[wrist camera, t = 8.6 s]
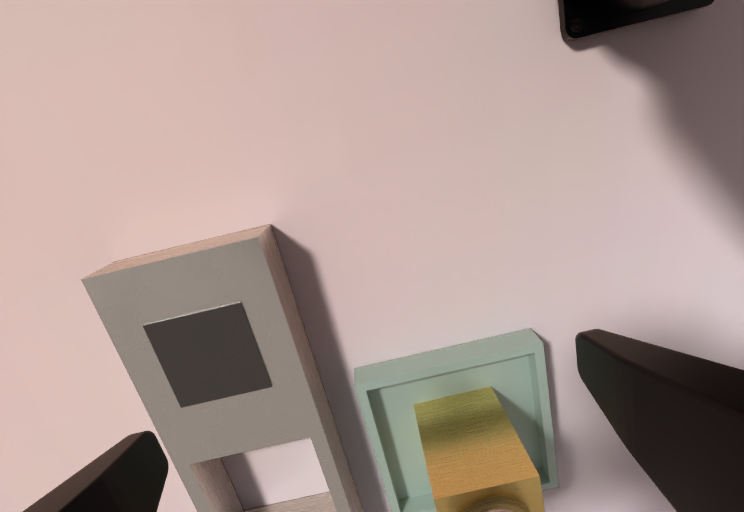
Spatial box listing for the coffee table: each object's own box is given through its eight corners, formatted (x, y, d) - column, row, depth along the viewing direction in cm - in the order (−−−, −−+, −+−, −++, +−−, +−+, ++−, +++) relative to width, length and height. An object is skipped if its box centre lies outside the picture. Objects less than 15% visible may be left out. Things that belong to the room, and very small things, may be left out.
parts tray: (530, 328, 21) (543, 342, 20) (547, 466, 24) (559, 487, 23) (354, 368, 22) (354, 385, 20) (392, 500, 25) (394, 522, 23)
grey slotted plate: (270, 224, 19) (257, 237, 16) (379, 560, 26) (381, 605, 24) (115, 261, 19) (79, 280, 17) (265, 584, 26) (256, 631, 24)
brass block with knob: (491, 386, 22) (553, 502, 15) (501, 448, 23) (564, 580, 16) (413, 404, 22) (439, 527, 15) (428, 464, 23) (459, 602, 16)
